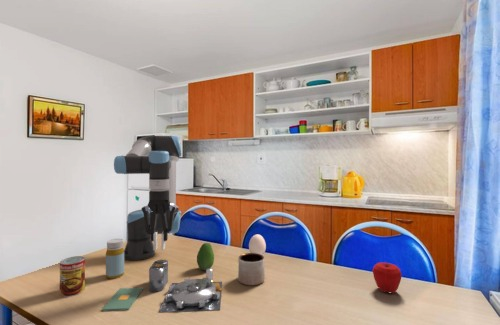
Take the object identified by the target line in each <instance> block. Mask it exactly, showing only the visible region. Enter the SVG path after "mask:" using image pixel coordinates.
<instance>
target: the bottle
mask: <svg viewBox="0 0 500 325" xmlns="http://www.w3.org/2000/svg"><path fill="white" fill-rule="evenodd" d="M124 250H125V247H124V240H123V238H112V239H109V240H107V241H106V251H105V277H106V278H108V279H111V280H112V279H118V278H121V277H122V276H123V275H124V274H125V259H124Z"/></svg>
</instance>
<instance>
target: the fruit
mask: <svg viewBox="0 0 500 325" xmlns="http://www.w3.org/2000/svg"><path fill="white" fill-rule="evenodd" d="M214 253H215V252H214V250H213V246H212V245H211V243H210V242H205V243H203V244H202V245H201V246H200V248H199V250H198V252H197V254H196V263H197V266H198V267H199V269H200V270H202V271H206V269H207V268H212V267H213V265H214V262H215V254H214Z"/></svg>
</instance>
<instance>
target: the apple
mask: <svg viewBox="0 0 500 325" xmlns="http://www.w3.org/2000/svg"><path fill="white" fill-rule="evenodd" d="M372 276H373V279H374V282H375V284H376V286H377V287H378V289H379V290H380V291H381V292H383V291H385V292H384V293H386V292H393V293H394V292H396V291H398V288H399V287H400V283H401V281H402V278H403V275H402V272H401V269H400V268H399V267H398V266H397V265H396V264H393V263H389V262H376V264H374V265H373V268H372Z"/></svg>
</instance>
